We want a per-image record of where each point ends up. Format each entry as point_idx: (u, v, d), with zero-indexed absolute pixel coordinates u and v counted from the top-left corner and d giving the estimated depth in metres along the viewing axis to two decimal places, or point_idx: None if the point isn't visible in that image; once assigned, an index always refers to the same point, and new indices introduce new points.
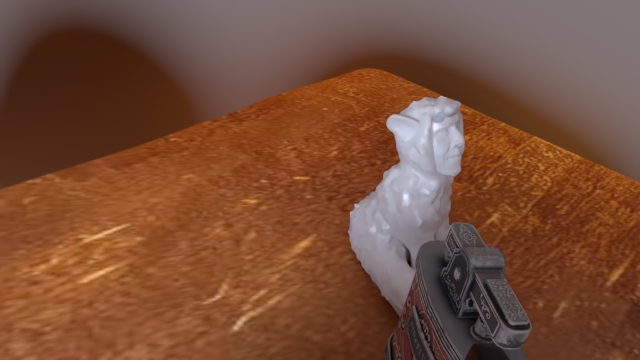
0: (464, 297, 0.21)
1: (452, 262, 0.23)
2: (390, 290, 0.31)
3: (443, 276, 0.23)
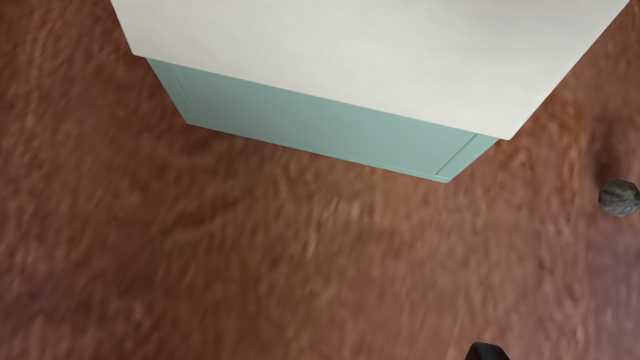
0: None
1: None
2: None
3: None
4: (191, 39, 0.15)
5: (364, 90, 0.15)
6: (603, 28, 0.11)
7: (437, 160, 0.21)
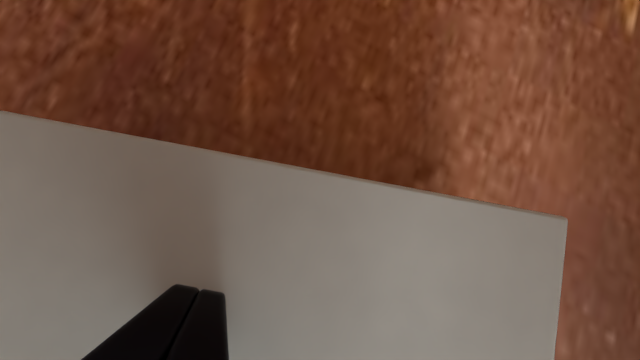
0: None
1: None
2: None
3: None
4: None
5: None
6: None
7: None
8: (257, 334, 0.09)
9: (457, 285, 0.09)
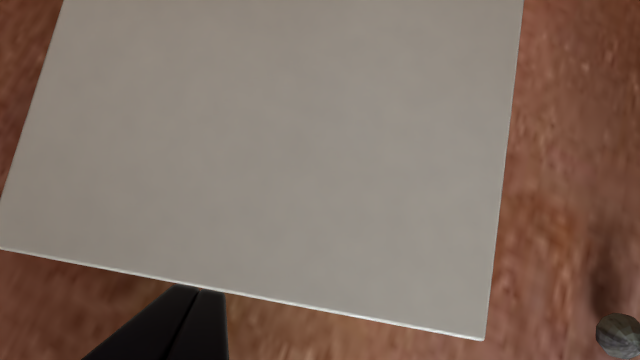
0: None
1: None
2: None
3: None
4: (90, 201, 0.13)
5: (294, 263, 0.13)
6: (506, 131, 0.13)
7: None
8: None
9: None
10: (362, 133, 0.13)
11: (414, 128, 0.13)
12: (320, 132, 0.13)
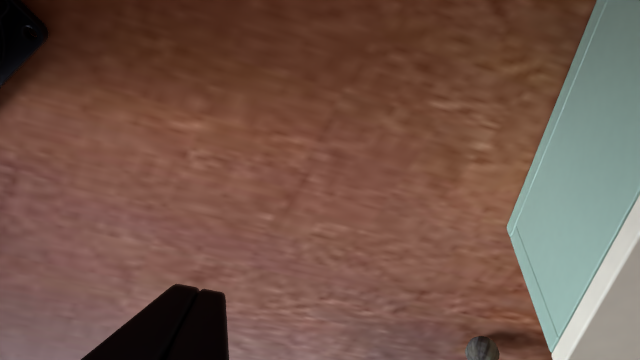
0: None
1: None
2: None
3: None
4: None
5: None
6: None
7: (531, 249, 0.20)
8: None
9: None
10: None
11: None
12: None
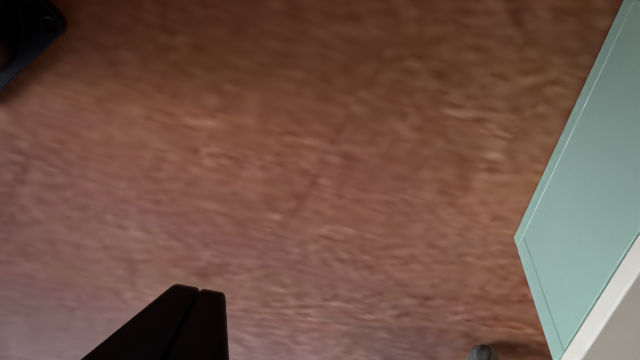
0: None
1: None
2: None
3: None
4: None
5: None
6: None
7: (539, 260, 0.20)
8: None
9: None
10: None
11: None
12: None
